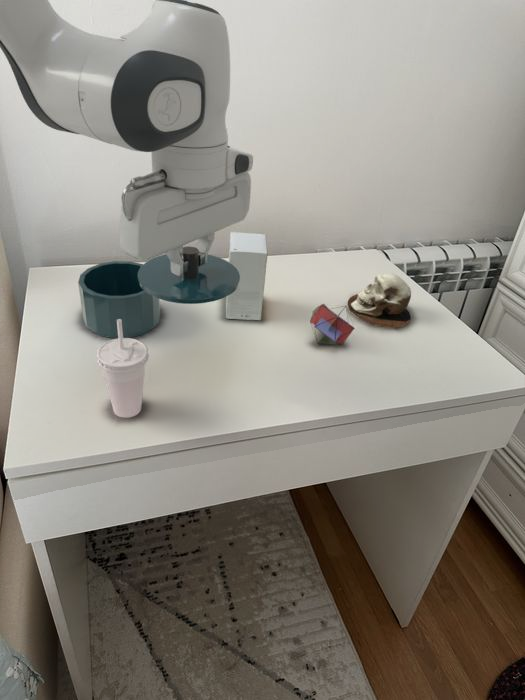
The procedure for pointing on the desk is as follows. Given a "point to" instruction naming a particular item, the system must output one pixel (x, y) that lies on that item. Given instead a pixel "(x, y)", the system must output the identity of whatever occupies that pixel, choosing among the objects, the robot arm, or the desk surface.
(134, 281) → the pot
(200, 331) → the desk surface
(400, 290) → the skull
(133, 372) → the smoothie
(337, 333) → the geometric puzzle
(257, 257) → the small box
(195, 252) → the lid
